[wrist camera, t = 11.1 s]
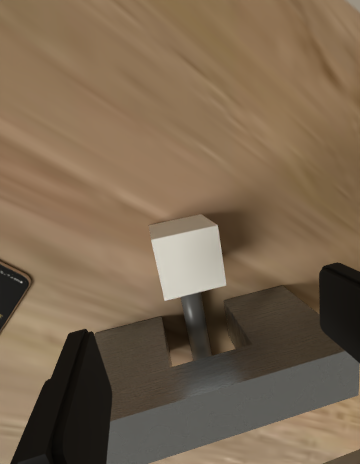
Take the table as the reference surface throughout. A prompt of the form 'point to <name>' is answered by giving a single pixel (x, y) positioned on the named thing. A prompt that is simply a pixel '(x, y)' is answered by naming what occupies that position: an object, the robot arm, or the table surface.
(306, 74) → the table surface
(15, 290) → the smartphone
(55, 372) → the robot arm
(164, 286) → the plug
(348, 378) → the block
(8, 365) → the table surface
